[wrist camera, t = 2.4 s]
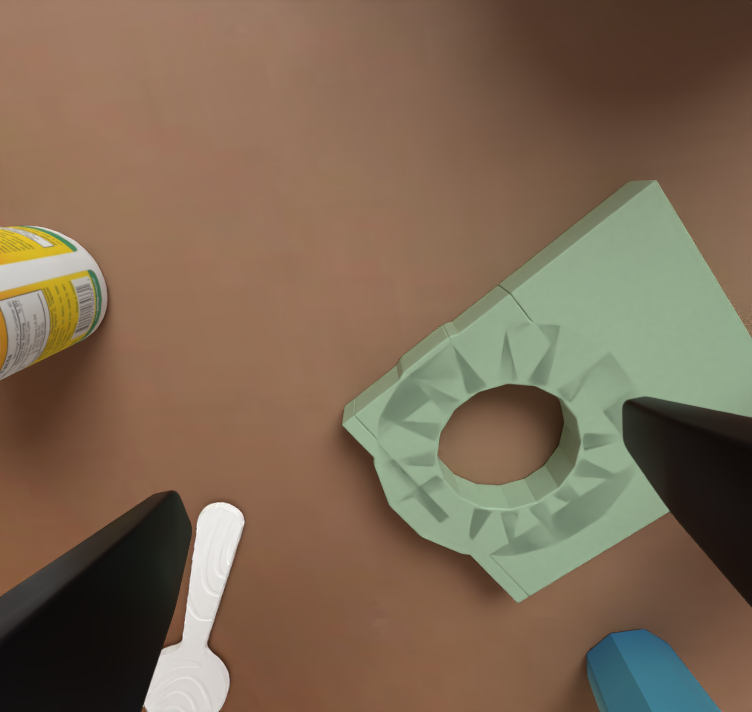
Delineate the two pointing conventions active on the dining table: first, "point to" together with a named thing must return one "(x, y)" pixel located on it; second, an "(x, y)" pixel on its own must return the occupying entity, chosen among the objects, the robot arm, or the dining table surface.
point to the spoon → (199, 622)
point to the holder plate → (561, 389)
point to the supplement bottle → (45, 295)
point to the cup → (643, 676)
